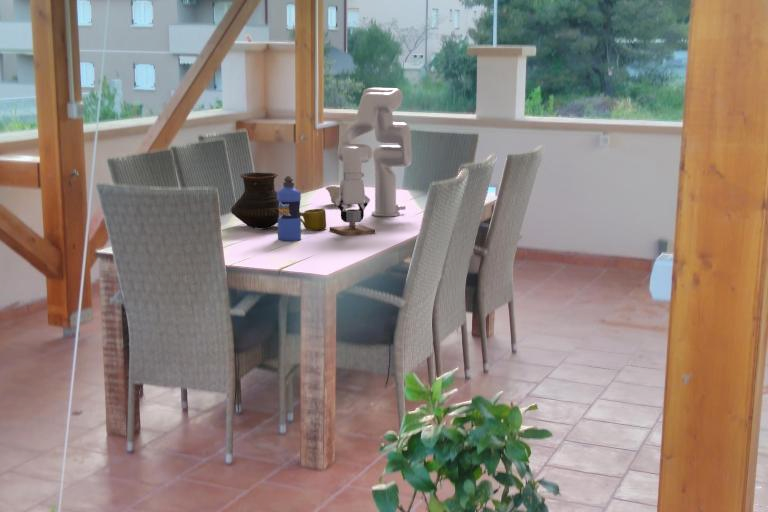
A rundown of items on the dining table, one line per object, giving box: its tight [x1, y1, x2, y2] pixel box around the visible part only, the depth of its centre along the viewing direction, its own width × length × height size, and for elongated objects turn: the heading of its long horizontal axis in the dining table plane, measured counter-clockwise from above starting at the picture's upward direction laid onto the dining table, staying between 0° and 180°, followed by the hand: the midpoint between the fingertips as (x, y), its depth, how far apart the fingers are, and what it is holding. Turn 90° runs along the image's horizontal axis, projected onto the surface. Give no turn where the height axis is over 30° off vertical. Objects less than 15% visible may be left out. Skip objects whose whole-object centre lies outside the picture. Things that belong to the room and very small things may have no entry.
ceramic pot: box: [230, 171, 279, 229], centre depth 438 cm, size 24×24×22 cm
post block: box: [329, 222, 376, 237], centre depth 429 cm, size 14×14×8 cm
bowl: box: [325, 185, 341, 205], centre depth 503 cm, size 15×14×10 cm
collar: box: [343, 208, 363, 224], centre depth 428 cm, size 7×7×4 cm
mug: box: [300, 208, 327, 232], centre depth 436 cm, size 12×10×10 cm
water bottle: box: [276, 175, 302, 243], centre depth 410 cm, size 9×9×25 cm
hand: (352, 219), depth 429 cm, fingers closed on collar, 7 cm apart
